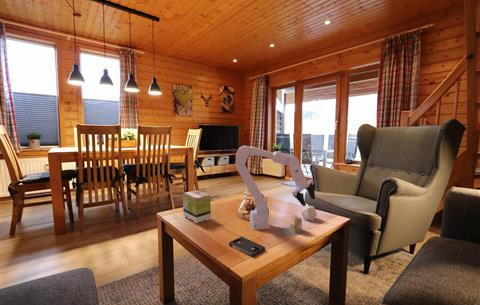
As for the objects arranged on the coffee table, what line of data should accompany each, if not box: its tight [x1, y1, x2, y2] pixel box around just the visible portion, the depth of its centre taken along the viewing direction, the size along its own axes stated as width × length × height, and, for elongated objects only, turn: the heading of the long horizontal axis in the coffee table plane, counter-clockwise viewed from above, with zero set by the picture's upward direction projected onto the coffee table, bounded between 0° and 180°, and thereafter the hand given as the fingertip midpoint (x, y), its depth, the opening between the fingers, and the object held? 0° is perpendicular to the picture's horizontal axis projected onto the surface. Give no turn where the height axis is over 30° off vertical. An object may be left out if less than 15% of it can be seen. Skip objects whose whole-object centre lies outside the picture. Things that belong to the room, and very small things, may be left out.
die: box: [300, 205, 318, 222], centre depth 130 cm, size 8×9×10 cm
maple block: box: [289, 214, 303, 233], centre depth 115 cm, size 4×4×7 cm
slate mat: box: [273, 226, 308, 238], centre depth 115 cm, size 14×9×1 cm, turn 102°
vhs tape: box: [228, 236, 266, 258], centre depth 99 cm, size 14×8×2 cm, turn 45°
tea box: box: [182, 189, 212, 224], centre depth 133 cm, size 15×10×15 cm, turn 42°
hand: (308, 202), depth 118 cm, fingers open, 7 cm apart
